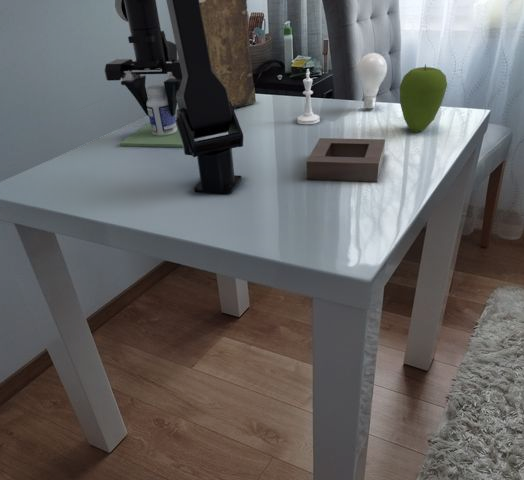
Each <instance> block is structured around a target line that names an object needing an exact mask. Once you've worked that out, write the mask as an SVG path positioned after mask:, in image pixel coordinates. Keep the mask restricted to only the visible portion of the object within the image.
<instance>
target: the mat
mask: <svg viewBox="0 0 524 480" xmlns="http://www.w3.org/2000/svg"><path fill="white" fill-rule="evenodd" d="M176 127H177V124H176ZM119 146H121V147H153V148H157V147H158V148H183V143H182V140H181V137H180V133H179V130H178V127H177V131H176V132H175V133H173V134H170V135H166V136H157V135H154V134H153V133H152V129H151V124H150V121H149V122H147V123H146V124H144V125H143V126H142V127H140V128H139V129H137V130H136V131H134V132H133V133H132V134H130V135H129V136H127V137H126V138H124V139H123V140H122V141H120V142H119Z"/></svg>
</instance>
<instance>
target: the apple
mask: <svg viewBox="0 0 524 480" xmlns="http://www.w3.org/2000/svg"><path fill="white" fill-rule="evenodd" d="M447 88H448V81H447V75H446V74H445V73H444V72H443V71H442V70H441V69H439V68H436V67H431V66H427V64H424V66H420V67H414V68H412V69H410V70H409V71H408V72H407V73H405V74H404V76H403V77H402V80H401V82H400V84H399V104H400V108H401V112H402V116H403V119H404V121H405V124H406V125H407V127H408V128H409V130H410V131H411V132H413V133H420V132H424V131H425V130H426V129H427V128H428V127H429V125H431V124H432V122H434V120H435V119H436V117H437V114H438V112H439V109H440V108H441V106H442V104H443V100H444V99H445V98H444V97H445V94H446V90H447Z"/></svg>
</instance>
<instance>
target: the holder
mask: <svg viewBox="0 0 524 480" xmlns="http://www.w3.org/2000/svg"><path fill="white" fill-rule="evenodd" d="M385 149H386V138H385V139H384V138H338V137H337V138H334V137H333V138H332V137H319V138H318V140H317V142H316V144H315V146H314V147H313V149H312V151H311V153H310V155H309V156H308V158H307V160H306V180H313V181H314V180H319V181H340V182H341V181H344V182H365V183H367V182H369V183H378V181H379V177H380V173H381V169H382V165H383V161H384V157H385Z"/></svg>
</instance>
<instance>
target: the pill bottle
mask: <svg viewBox="0 0 524 480" xmlns="http://www.w3.org/2000/svg"><path fill="white" fill-rule="evenodd" d="M146 92H147V96H148V100H147V102H146V105H147V110H148V115H149V116H148V119H149V122H150V124H151V129H152V133H153V134H154V135H157V136H166V135H170V134H173V133H175V132H176V131H177V127H176V115H174V116H172V115H171V112H170V109H169V105H168V100H167V95H166V91H165V86H164V84H152V85H148V86H147V87H146Z"/></svg>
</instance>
